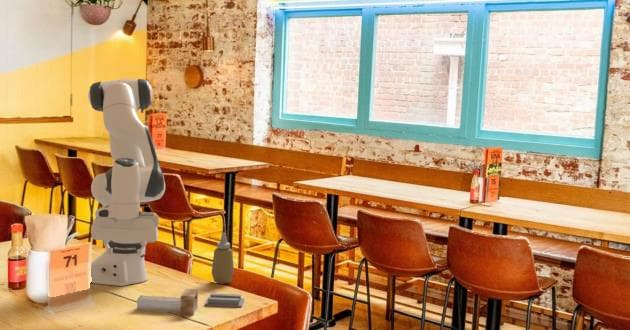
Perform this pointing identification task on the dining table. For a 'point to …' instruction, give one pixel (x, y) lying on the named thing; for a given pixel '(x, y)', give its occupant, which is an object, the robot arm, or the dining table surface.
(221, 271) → the squeeze bottle
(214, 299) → the cradle
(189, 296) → the brown block
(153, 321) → the dining table surface
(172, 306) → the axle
